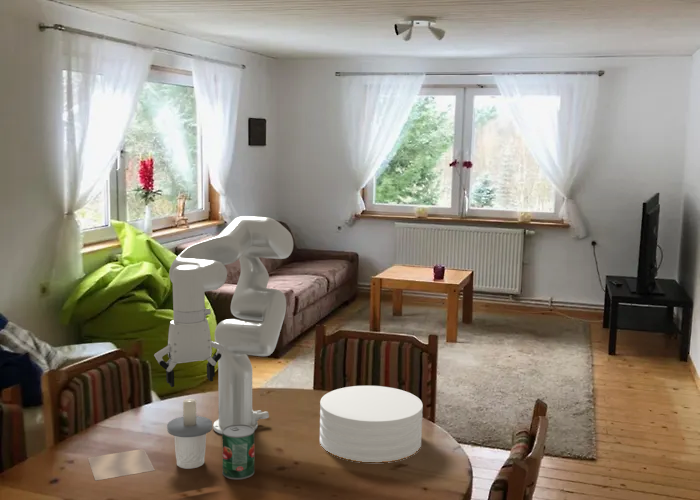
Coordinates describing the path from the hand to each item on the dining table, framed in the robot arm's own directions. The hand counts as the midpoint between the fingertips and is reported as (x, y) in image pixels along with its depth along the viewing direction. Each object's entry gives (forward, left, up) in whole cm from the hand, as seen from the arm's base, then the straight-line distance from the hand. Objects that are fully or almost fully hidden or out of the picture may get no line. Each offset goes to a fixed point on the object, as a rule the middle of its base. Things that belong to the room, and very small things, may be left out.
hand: (191, 382), depth 185 cm
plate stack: (-49, +4, -22) cm, 54 cm away
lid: (0, 0, -12) cm, 12 cm away
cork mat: (+16, -5, -22) cm, 28 cm away
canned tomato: (-10, +9, -22) cm, 25 cm away
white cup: (0, 0, -22) cm, 22 cm away
